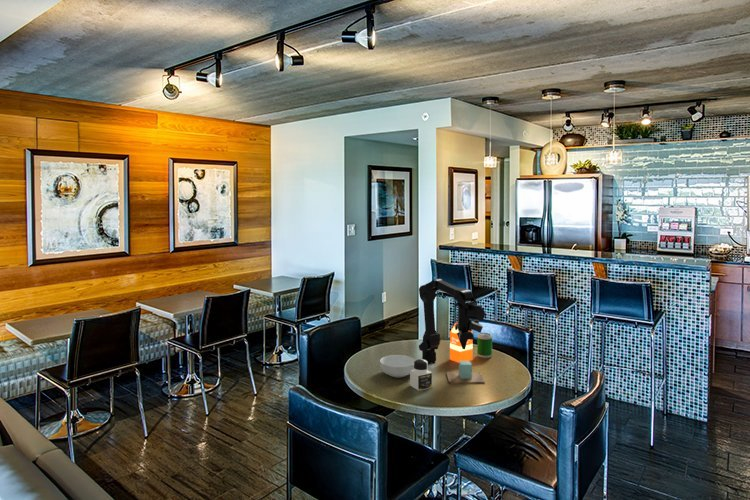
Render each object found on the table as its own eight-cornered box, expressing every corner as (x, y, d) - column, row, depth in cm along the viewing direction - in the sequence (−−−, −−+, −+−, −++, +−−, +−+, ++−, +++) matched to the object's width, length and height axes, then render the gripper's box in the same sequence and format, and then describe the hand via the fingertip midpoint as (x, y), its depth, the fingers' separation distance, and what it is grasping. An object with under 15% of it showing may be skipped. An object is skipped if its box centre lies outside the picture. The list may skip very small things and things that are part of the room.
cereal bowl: (374, 378, 231) (374, 363, 230) (386, 367, 247) (386, 353, 246) (410, 383, 225) (410, 368, 225) (419, 371, 241) (419, 356, 240)
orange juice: (472, 360, 256) (473, 322, 254) (460, 363, 251) (460, 324, 249) (461, 356, 263) (462, 319, 260) (449, 359, 258) (449, 321, 256)
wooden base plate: (449, 383, 224) (449, 368, 224) (446, 373, 236) (446, 359, 236) (484, 383, 224) (485, 368, 223) (480, 374, 236) (480, 359, 235)
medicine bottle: (418, 391, 216) (418, 364, 215) (409, 385, 222) (409, 359, 221) (432, 388, 219) (432, 361, 218) (423, 382, 226) (423, 357, 224)
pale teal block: (460, 378, 228) (460, 364, 227) (458, 374, 233) (458, 360, 232) (471, 378, 227) (471, 364, 227) (469, 374, 233) (470, 360, 232)
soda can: (492, 359, 257) (492, 336, 256) (477, 358, 259) (477, 335, 257) (491, 354, 264) (492, 332, 263) (477, 353, 266) (477, 332, 265)
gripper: (485, 321, 223) (484, 355, 224) (477, 311, 241) (477, 343, 243) (460, 321, 223) (459, 355, 225) (454, 311, 241) (454, 343, 243)
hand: (463, 349), depth 234 cm, fingers closed
